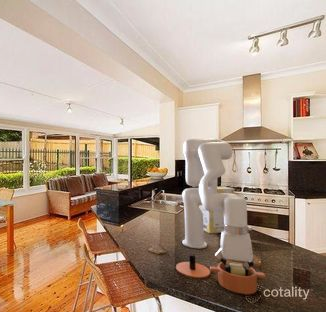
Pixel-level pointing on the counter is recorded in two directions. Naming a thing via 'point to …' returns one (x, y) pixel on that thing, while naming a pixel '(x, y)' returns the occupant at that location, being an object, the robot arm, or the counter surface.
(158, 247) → the shard
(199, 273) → the lid
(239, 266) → the block
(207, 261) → the counter surface
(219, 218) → the pasta box
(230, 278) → the pan
